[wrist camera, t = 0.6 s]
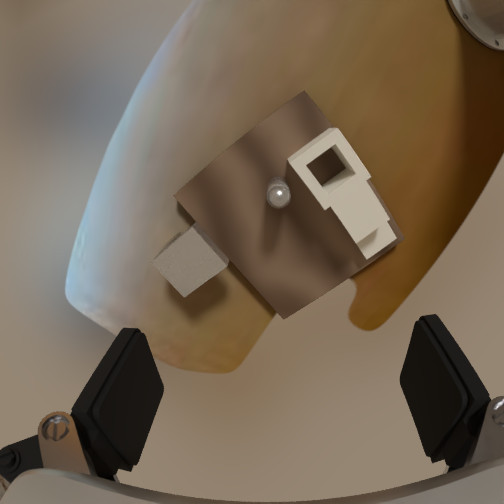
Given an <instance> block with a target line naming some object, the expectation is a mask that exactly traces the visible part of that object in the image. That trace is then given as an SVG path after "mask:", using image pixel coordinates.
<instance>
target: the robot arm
mask: <svg viewBox="0 0 504 504" xmlns="http://www.w3.org/2000/svg"><path fill="white" fill-rule="evenodd" d="M448 2H449V4H450V6H451V8H452V10H453V12H454V14H455V15H456V16H457V18H458V19H459V21H460V22H461V23H462V25H463V26H464V27H465V28H466V30H467V31H468V32H469V33H470V34H471V35H472V36H473V37H475V38H476V39H477V40H478V41H479V42H481V43H482V44H484V45H485V46H487V47H489V48H491V49H494V50H504V0H448ZM400 385H401V388H402V390H403V393H404V395H405V398H406V400H407V403H408V406H409V409H410V411H411V414H412V417H413V419H414V422H415V425H416V428H417V430H418V434H419V437H420V440H421V442H422V446H423V449H424V452H425V454H426V456H428V457H430V458H431V461H432V463H434V462H438V461H441V460H444V459H445V462H446V465H447V466H446V468H445V471H444V473H443V474H442V475H439V476H436V477H433V478H429V479H426V480H422V481H419V482H415V483H411V484H407V485H403V486H400V487H396V488H392V489H387V490H382V491H377V492H372V493H366V494H361V495H354V496H348V497H340V498H332V499H323V500H312V501H296V502H238V501H224V500H211V499H203V498H194V497H187V496H180V495H174V494H168V493H163V492H158V491H153V490H148V489H143V488H139V487H134V486H130V485H126V484H122V483H120V482H119V480H118V478H117V476H116V473H117V471H118V469H122V470H126V471H130V472H131V471H132V468H133V465H137V464H138V462H139V459H140V456H141V453H142V451H143V448H144V445H145V442H146V439H147V436H148V433H149V431H150V428H151V425H152V423H153V420H154V417H155V415H156V412H157V409H158V406H159V404H160V401H161V398H162V395H163V392H164V386H163V383H162V380H161V378H160V375H159V372H158V370H157V367H156V364H155V362H154V359H153V356H152V353H151V350H150V347H149V345H148V342H147V339H146V336H145V334H144V333H141V331H140V330H139V329H138V328H123V329H122V330H121V331H120V333H119V334H118V336H117V337H116V339H115V340H114V342H113V343H112V345H111V346H110V348H109V350H108V351H107V353H106V354H105V356H104V357H103V359H102V360H101V362H100V363H99V365H98V367H97V368H96V370H95V371H94V373H93V374H92V376H91V378H90V379H89V381H88V383H87V384H86V386H85V387H84V389H83V391H82V392H81V394H80V396H79V397H78V399H77V401H76V402H75V404H74V406H73V407H72V412H71V414H70V415H69V414H68V413H65V412H53V413H51V414H48V415H47V416H46V417H44V418H43V419H42V421H41V422H40V424H39V426H38V434H37V435H35V436H32V437H30V438H27V439H24V440H22V441H19V442H16V443H13V444H11V445H8V446H6V447H4V448H2V449H1V450H0V504H504V396H500V397H496V398H494V399H493V400H491V399H490V397H489V393H488V391H487V390H486V388H485V386H484V385H483V383H482V381H481V380H480V378H479V377H478V375H477V373H476V372H475V370H474V368H473V367H472V366H471V364H470V362H469V361H468V359H467V357H466V356H465V354H464V353H463V351H462V350H461V348H460V347H459V345H458V344H457V343H456V341H455V340H454V338H453V337H452V335H451V334H450V332H449V331H448V330H447V328H446V327H445V325H444V324H443V322H442V321H441V320H440V318H439V317H438V316H437V315H436V314H433V315H426V316H421V317H420V318H419V321H416V322H415V325H414V329H413V332H412V336H411V340H410V344H409V348H408V351H407V355H406V358H405V361H404V365H403V368H402V371H401V374H400Z"/></svg>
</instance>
